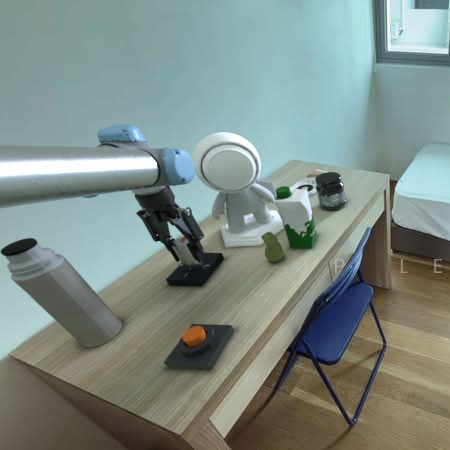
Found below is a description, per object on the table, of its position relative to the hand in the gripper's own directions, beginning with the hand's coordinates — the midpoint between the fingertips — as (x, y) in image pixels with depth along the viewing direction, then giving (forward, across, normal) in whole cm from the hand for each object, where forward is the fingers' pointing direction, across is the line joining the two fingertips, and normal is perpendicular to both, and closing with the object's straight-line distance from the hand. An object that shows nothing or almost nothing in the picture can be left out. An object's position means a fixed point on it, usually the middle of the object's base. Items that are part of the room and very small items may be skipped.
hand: (191, 258), depth 90 cm
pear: (+5, +22, +6) cm, 23 cm away
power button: (+2, +17, -25) cm, 30 cm away
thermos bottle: (+5, -11, -22) cm, 25 cm away
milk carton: (+5, +28, +15) cm, 32 cm away
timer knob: (+3, 0, 0) cm, 3 cm away
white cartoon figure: (+5, +7, +22) cm, 24 cm away
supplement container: (+5, +32, +39) cm, 51 cm away
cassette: (+5, +2, +45) cm, 45 cm away
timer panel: (+5, 0, 0) cm, 5 cm away
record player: (+5, +18, +54) cm, 57 cm away
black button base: (+5, +17, -25) cm, 31 cm away
